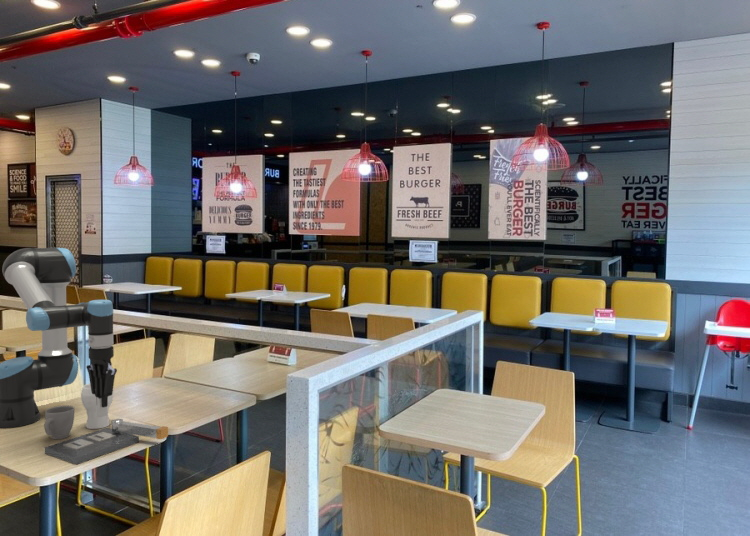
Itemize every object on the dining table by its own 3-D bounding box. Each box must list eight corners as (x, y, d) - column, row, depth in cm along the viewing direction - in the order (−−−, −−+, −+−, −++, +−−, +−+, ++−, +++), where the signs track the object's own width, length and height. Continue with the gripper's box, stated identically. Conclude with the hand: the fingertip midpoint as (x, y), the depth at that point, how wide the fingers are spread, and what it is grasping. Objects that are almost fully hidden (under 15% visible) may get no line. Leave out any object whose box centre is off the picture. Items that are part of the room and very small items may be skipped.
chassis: (44, 453, 181) (44, 446, 181) (107, 433, 200) (107, 426, 200) (76, 464, 172) (76, 456, 172) (138, 442, 191) (138, 435, 191)
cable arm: (109, 431, 194) (109, 421, 194) (117, 428, 198) (117, 418, 197) (160, 439, 187) (160, 429, 187) (168, 436, 190) (168, 425, 190)
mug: (56, 431, 201) (55, 405, 200) (80, 432, 200) (79, 405, 200) (33, 444, 189) (32, 415, 188) (58, 445, 188) (58, 416, 188)
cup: (101, 431, 201) (100, 390, 200) (75, 429, 203) (74, 388, 203) (120, 422, 212) (119, 382, 211) (95, 420, 214) (94, 380, 213)
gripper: (78, 346, 189) (79, 415, 190) (103, 350, 182) (104, 422, 184) (99, 342, 195) (100, 409, 197) (123, 346, 189) (124, 416, 190)
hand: (102, 415), depth 190 cm, fingers closed
